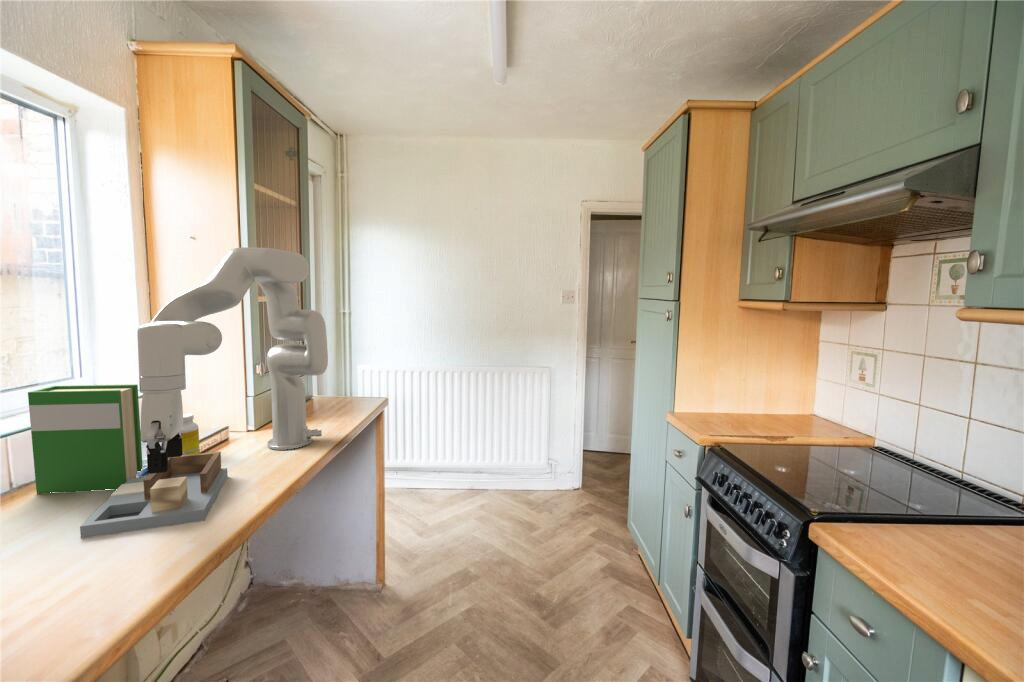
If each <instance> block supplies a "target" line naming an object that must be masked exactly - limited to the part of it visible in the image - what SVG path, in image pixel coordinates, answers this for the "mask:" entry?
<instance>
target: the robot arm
mask: <svg viewBox="0 0 1024 682" xmlns="http://www.w3.org/2000/svg"><path fill="white" fill-rule="evenodd" d="M309 271H310V270H309V264H308V261H307V260H306V257H304V256H303V254H300V253H298V252H295V251H294V252H293V251H289V250H283V249H278V248H272V247H270V248H269V247H235V248H233V249H230V250H229V251H228V252H227V253H226V254H225V255H224V256H223V258H222V259H221V261H220V262H219V263H218V264H217V266H216V267H215V268H214V270H213V272H212V273H211V274H210V275H209V276H208V277H207V279H206V280H205V282H203V283H201V284H200V285H198V286H196V287H194V288H191V289H189V290H187V291H186V292H184V293H183V294H180V295H179V296H177V297H174V298H173V299H172V300H170V301H168V302H166V304H165V305H163V307H162V308H161V309H160V310H159V311H158V312H157V314H156V315H155V316H154V317H153V319H152V320H151V321H150V322H149V323H143V324H141V325H139V326H138V328H137V337H136V338H137V354H138V355H137V356H138V357H137V360H138V381H139V384H138V385H139V386H138V387H139V393H141V394H142V397H141V399H142V400H141V407H140V408H141V410H140V432H141V443H147V444H146V446H145V448H146V461H147V462H146V464H147V465H146V467H147V474H148V475H149V474H153V473H163V472H167V471H168V458H170V457H180V456H182V454H183V452H182V438H181V437H182V432H181V430H182V427H183V414H184V411H183V410H184V409H183V395H182V391H185V390H186V388H187V387H186V386H187V381H186V356H207V355H210V354H212V353H214V352H216V351H217V350H218V349H219V348H220V346H221V344H222V341H223V333H222V331H221V329H219V328H218V327H217V325H216V324H213V323H211V322H209V321H207V322H206V321H203V320H202V321H201V320H199V321H198V319H201V318H204V317H206V316H209V315H214V314H217V313H221V312H226V311H227V310H230V309H233V308H235V307H237V306H238V305H240V303H241V301H242V300H243V298H244V297H245V295H246V294H247V292H248V291H249V289H250V288H251V286H252V285H253V284H254V282H255V284H257V285H258V286H259V287H260V288H261V290H262V291H263V294H264V297H265V300H266V303H265V304H266V310H267V322H268V329H269V333H270V335H271V337H272V338H273V339H276V340H279V341H294V342H295V341H297V342H304V344H299V343H282V344H275V345H274V346H272V347H271V348H269V350H268V351H267V353H266V366H267V369H268V374H269V380H270V387H271V388H270V390H271V392H270V393H271V394H270V395H271V415H272V416H271V417H272V418H271V419H272V420H271V421H272V438H271V439H269V440H268V441H267V444H266V445H267V448H269V449H270V450H277V451H286V450H287V449H288V450H294V448H295V449H299V447H300V448H302V446H303V447H305V445H306V446H308V445H310V444H311V443H312V442H313V437H322V436H323V435H322V431H323V430H322V429H320V430H319V429H318V428H314V429H309V428H308V427H309V426H308V425H307V405H306V404H307V401H306V400H307V399H306V398H307V397H306V387H305V383H304V381H303V380H302V378H301V377H300V376H321V375H323V374H324V373H326V370H327V368H328V364H329V363H328V362H329V352H328V351H329V350H328V339H327V327H326V321H325V319H324V316H323V315H322V314H321V313H320V312H319V311H318V310H315V309H300V307H299V300H298V292H297V290H296V288H295V286H294V285H293V284H299V283H302V282H303V281H304V280H306V278H307V277H308V275H309ZM160 443H161V444H160Z"/></svg>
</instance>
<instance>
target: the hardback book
mask: <svg viewBox="0 0 1024 682" xmlns="http://www.w3.org/2000/svg"><path fill="white" fill-rule="evenodd" d="M138 385H139V384H93V385H92V384H90V385H89V384H87V385H85V384H84V385H83V384H80V385H79V384H78V385H52V386H47V387H43V388H40V389H36V390H31V391H28V392H27V397H28V399H27V400H28V408H29V409H28V410H29V411H28V412H29V422H30V433H31V445H32V453H33V454H32V455H33V467H34V480H35V490H36V495H39V494H38V493H50V492H51V493H52V492H70V493H77V492H76V491H88V492H92V491H91V490H105V489H118V488H119V487H120V486H121V485H122V484H125V483H126V482H127V481H128V480H129V479H130V478H136V474H137V471H141V469H142V467H143V454H142V452H143V450H142V448H143V447H142V441H141V415H140V405H139V404H140V403H139V388H138V387H139V386H138ZM143 468H144V467H143ZM52 494H53V493H52Z"/></svg>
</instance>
